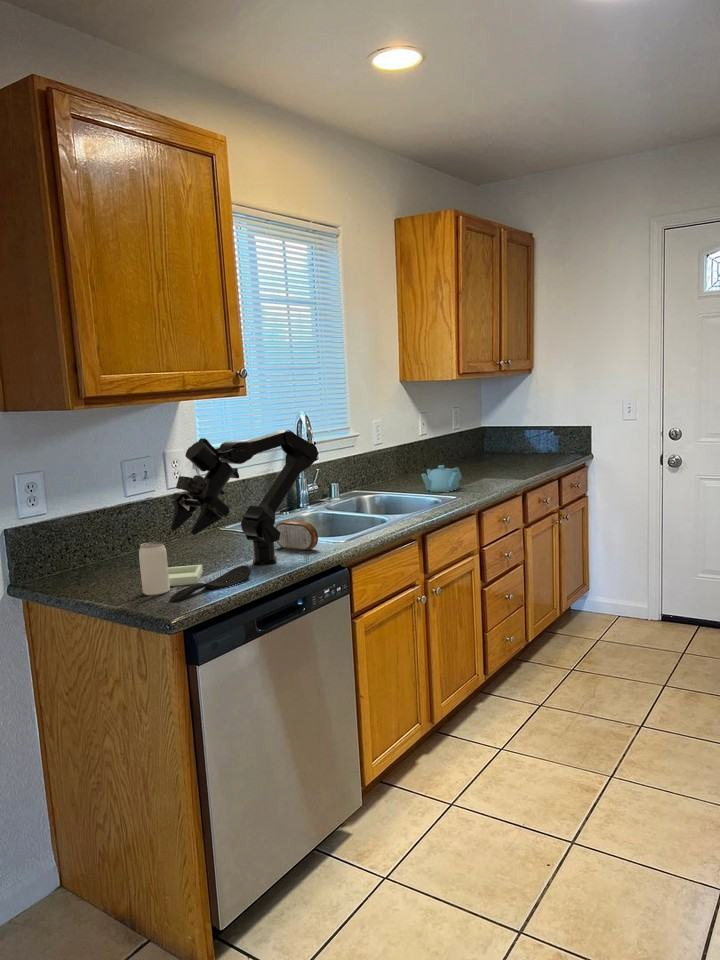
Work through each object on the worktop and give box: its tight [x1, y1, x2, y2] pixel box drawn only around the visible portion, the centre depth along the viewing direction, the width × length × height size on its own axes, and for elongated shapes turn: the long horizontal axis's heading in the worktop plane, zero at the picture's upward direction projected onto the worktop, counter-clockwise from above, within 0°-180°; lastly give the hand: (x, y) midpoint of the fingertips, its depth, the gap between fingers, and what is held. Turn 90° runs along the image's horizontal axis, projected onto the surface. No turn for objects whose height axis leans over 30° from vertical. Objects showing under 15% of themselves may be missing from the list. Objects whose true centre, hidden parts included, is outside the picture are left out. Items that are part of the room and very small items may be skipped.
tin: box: [274, 519, 319, 551], centre depth 220 cm, size 15×3×8 cm, turn 56°
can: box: [138, 541, 171, 597], centre depth 181 cm, size 6×6×12 cm
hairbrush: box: [169, 562, 252, 603], centre depth 183 cm, size 8×4×25 cm
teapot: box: [421, 464, 463, 491], centre depth 312 cm, size 15×15×11 cm
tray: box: [168, 564, 204, 587], centre depth 193 cm, size 12×12×2 cm
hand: (182, 532), depth 186 cm, fingers open, 9 cm apart
